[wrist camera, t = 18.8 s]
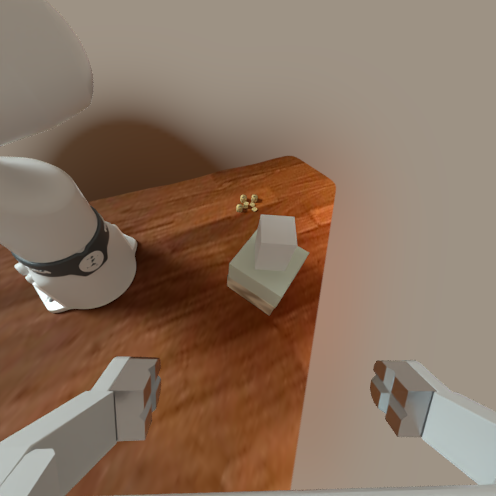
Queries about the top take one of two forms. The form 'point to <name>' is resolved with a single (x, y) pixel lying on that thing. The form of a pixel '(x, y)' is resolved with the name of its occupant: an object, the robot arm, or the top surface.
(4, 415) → the top surface
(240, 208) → the beige lumpy cluster
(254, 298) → the birch block
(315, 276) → the top surface
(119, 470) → the top surface
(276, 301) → the sage block
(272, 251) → the grey block
